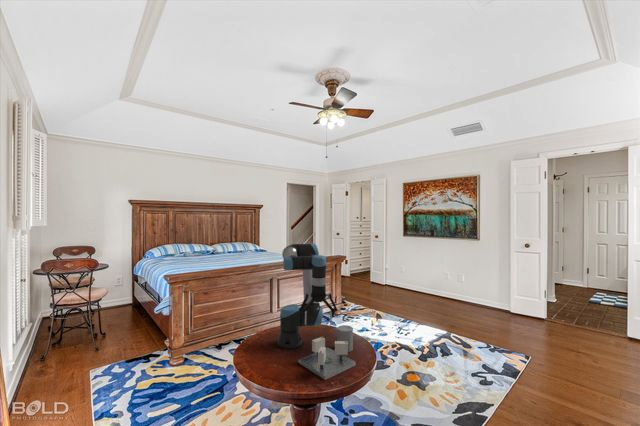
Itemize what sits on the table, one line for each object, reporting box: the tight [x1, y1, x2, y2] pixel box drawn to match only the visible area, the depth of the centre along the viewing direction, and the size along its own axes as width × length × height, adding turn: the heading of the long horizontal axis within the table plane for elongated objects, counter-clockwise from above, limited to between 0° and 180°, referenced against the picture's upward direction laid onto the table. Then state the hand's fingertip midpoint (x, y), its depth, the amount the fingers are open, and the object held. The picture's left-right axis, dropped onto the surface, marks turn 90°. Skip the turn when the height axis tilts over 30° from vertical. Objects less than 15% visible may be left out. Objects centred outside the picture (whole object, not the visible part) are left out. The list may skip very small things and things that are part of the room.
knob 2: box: [334, 340, 349, 360], centre depth 167 cm, size 7×3×10 cm, turn 87°
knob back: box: [311, 336, 326, 356], centre depth 171 cm, size 7×3×10 cm, turn 130°
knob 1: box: [318, 346, 327, 368], centre depth 158 cm, size 7×3×10 cm, turn 170°
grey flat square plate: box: [297, 347, 357, 381], centre depth 166 cm, size 22×22×3 cm
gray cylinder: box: [336, 324, 354, 353], centre depth 185 cm, size 10×10×12 cm
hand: (318, 323), depth 164 cm, fingers open, 13 cm apart
